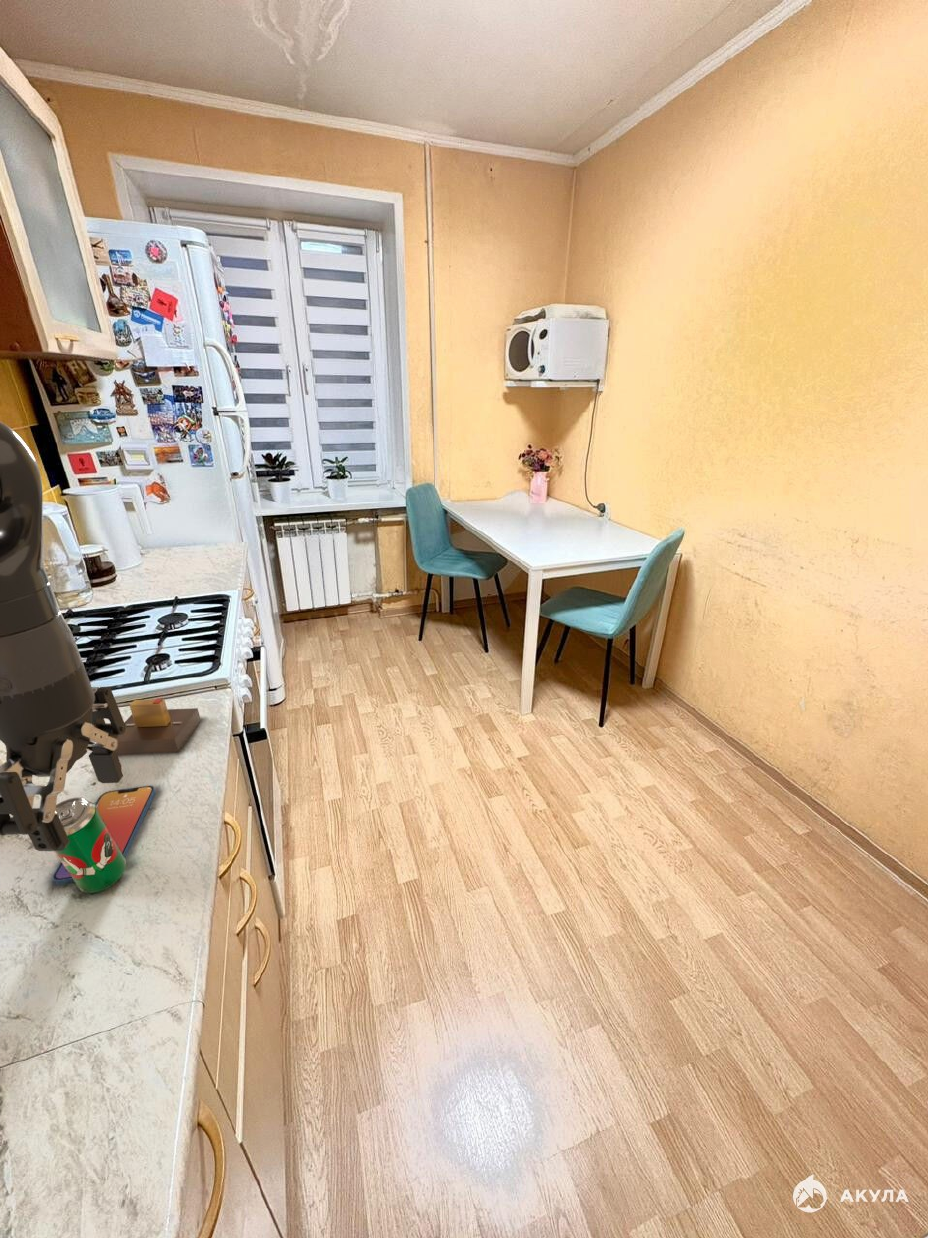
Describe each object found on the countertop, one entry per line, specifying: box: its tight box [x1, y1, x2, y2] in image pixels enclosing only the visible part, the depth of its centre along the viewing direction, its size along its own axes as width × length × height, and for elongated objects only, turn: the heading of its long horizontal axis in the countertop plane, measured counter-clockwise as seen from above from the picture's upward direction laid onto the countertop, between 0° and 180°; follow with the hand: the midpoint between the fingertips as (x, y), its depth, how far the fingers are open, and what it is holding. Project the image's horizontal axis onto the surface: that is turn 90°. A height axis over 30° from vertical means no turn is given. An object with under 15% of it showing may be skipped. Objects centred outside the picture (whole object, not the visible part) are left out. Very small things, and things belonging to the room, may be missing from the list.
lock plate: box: [116, 707, 202, 756], centre depth 86 cm, size 11×9×3 cm
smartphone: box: [52, 785, 156, 885], centre depth 68 cm, size 7×15×1 cm, turn 12°
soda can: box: [53, 797, 127, 894], centre depth 59 cm, size 5×5×12 cm
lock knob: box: [129, 697, 171, 727], centre depth 85 cm, size 5×2×5 cm, turn 94°
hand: (86, 812), depth 49 cm, fingers open, 8 cm apart
